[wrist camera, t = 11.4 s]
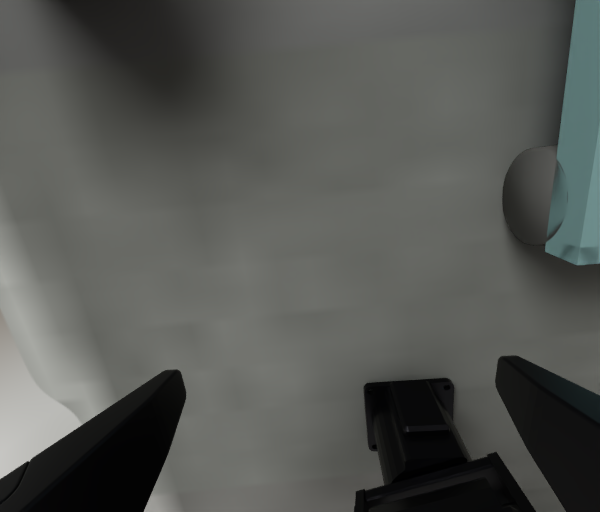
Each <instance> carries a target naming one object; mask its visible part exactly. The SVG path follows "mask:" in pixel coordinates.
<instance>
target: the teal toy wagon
mask: <svg viewBox="0 0 600 512" xmlns="http://www.w3.org/2000/svg"><path fill="white" fill-rule="evenodd" d="M503 209H504V214H505V218H506V221H507V223H508V225H509V228H510V229H511V231H512V232H513V234H514V235H515V236H516V237H517V238H518V239H519V240H520V241H522V242H524V243H526V244H529V245H543V244H546V246H545V252H547V253H549V254H551V255H554V256H556V257H559V258H561V259H563V260H566V261H568V262H570V263H573V264H575V265H587V264H597V263H600V0H576V3H575V11H574V20H573V28H572V36H571V44H570V52H569V60H568V68H567V76H566V84H565V92H564V101H563V109H562V117H561V125H560V133H559V141H558V145H552V146H544V147H537V148H530V149H527V150H525V151H523V152H522V153H521V154H519V155H518V156H517V157H516V158H515V160H514V161H513V162H512V164H511V166H510V167H509V170H508V172H507V175H506V177H505V181H504V186H503Z"/></svg>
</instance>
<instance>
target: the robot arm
mask: <svg viewBox="0 0 600 512" xmlns="http://www.w3.org/2000/svg"><path fill="white" fill-rule="evenodd" d="M495 383H496V388H497V390H498V393H499V395H500V397H501V399H502V401H503V402H504V404H505V406H506V408H507V410H508V412H509V414H510V416H511V418H512V420H513V422H514V424H515V426H516V428H517V430H518V432H519V434H520V436H521V438H522V440H523V442H524V444H525V446H526V447H527V449H528V451H529V453H530V454H531V456H532V458H533V459H534V461H535V462H536V464H537V466H538V467H539V469H540V470H541V472H542V474H543V475H544V477H545V478H546V480H547V481H548V483H549V485H550V486H551V488H552V489H553V491H554V493H555V494H556V496H557V497H558V499H559V501H560V502H561V504H562V505H563V507H564V509H565V510H566V512H600V396H599V395H597V394H595V393H593V392H591V391H589V390H587V389H585V388H583V387H581V386H579V385H577V384H575V383H572V382H570V381H568V380H566V379H564V378H562V377H560V376H558V375H556V374H554V373H552V372H550V371H548V370H546V369H544V368H542V367H539V366H537V365H535V364H533V363H531V362H529V361H527V360H525V359H523V358H521V357H519V356H501V357H500V358H499V359H498V364H497V372H496V379H495ZM445 385H447V386H445ZM370 389H372V391H368V390H370ZM185 400H186V389H185V386H184V382H183V378H182V375H181V372H180V371H179V370H165V371H163V372H161V373H160V374H158V375H157V376H155V377H154V378H152V379H151V380H149V381H148V382H146V383H145V384H143V385H142V386H140V387H139V388H137V389H136V390H134V391H133V392H131V393H130V394H128V395H127V396H125V397H124V398H122V399H121V400H119V401H118V402H116V403H115V404H113V405H112V406H110V407H109V408H107V409H106V410H104V411H103V412H101V413H100V414H98V415H97V416H95V417H94V418H92V419H91V420H89V421H88V422H86V423H85V424H83V425H82V426H80V427H79V428H77V429H76V430H74V431H73V432H71V433H70V434H68V435H67V436H65V437H64V438H62V439H60V440H59V441H58V442H56V443H54V444H53V445H51V446H50V447H48V448H47V449H45V450H44V451H42V452H41V453H39V454H38V455H36V456H35V457H33V458H32V459H31V460H30V462H28V461H27V462H26V463H24V464H23V465H21V466H20V467H18V468H17V469H15V470H14V471H12V472H11V473H9V474H8V475H6V476H5V477H3V478H1V479H0V512H144V509H145V507H146V505H147V502H148V500H149V498H150V495H151V493H152V491H153V488H154V486H155V484H156V481H157V479H158V477H159V474H160V472H161V470H162V467H163V465H164V463H165V460H166V458H167V455H168V453H169V450H170V447H171V444H172V441H173V438H174V435H175V432H176V428H177V425H178V422H179V419H180V416H181V413H182V410H183V407H184V404H185ZM364 400H365V412H366V425H367V437H368V446H369V449H370V450H371V451H378V455H379V460H380V465H381V470H382V475H383V480H384V486H380V487H377V488H373V489H369V490H366V491H365V489H363V490H359V491H356V501H355V507H354V512H536V511H535V509H534V508H533V506H532V505H531V503H530V502H529V500H528V499H527V497H526V496H525V494H524V493H523V491H522V490H521V488H520V487H519V485H518V484H517V482H516V481H515V479H514V478H513V476H512V475H511V473H510V472H509V470H508V469H507V467H506V466H505V464H504V463H503V461H502V460H501V458H500V457H499V455H498V454H497V452H494V453H491V454H487V457H484V458H480V459H477V460H473V461H472V459H471V457H470V455H469V453H468V451H467V449H466V447H465V445H464V443H463V441H462V439H461V437H460V435H459V433H458V431H457V429H456V427H455V425H454V423H453V400H454V385H453V383H452V382H451V380H450V379H448V378H439V379H423V380H407V381H391V382H375V383H367V384H365V386H364ZM374 444H375V445H374Z"/></svg>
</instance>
